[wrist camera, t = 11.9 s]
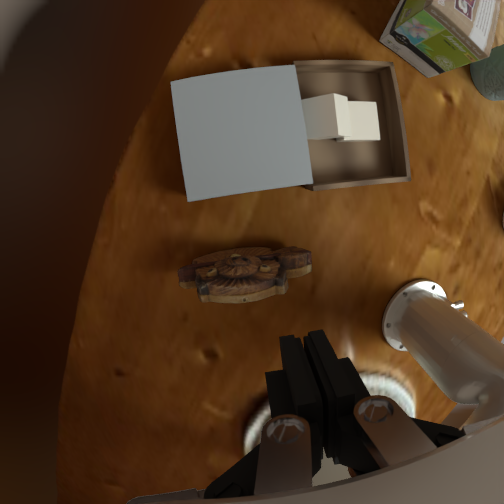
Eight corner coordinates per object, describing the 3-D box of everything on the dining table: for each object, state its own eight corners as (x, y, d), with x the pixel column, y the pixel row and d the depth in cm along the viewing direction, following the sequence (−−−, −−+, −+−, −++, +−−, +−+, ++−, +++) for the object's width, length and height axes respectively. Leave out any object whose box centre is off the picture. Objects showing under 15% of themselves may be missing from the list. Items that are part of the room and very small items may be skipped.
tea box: (429, 80, 37) (491, 59, 23) (376, 41, 36) (428, 2, 21) (451, 23, 34) (504, -4, 20) (405, -14, 33) (450, -53, 18)
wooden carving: (301, 229, 42) (320, 247, 32) (306, 262, 43) (325, 288, 34) (179, 253, 42) (164, 278, 32) (188, 285, 43) (176, 317, 34)
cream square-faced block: (339, 100, 35) (332, 105, 37) (344, 140, 36) (336, 141, 39) (376, 101, 35) (366, 105, 38) (380, 139, 36) (370, 141, 39)
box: (379, 70, 37) (392, 62, 32) (395, 179, 41) (411, 180, 37) (287, 71, 37) (293, 61, 32) (305, 188, 41) (313, 191, 36)
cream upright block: (299, 100, 35) (314, 102, 37) (304, 139, 37) (318, 139, 39) (333, 93, 32) (347, 96, 34) (338, 135, 33) (351, 136, 35)
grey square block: (286, 78, 37) (294, 64, 31) (302, 181, 40) (313, 183, 35) (179, 93, 37) (170, 81, 31) (194, 197, 40) (187, 201, 34)
